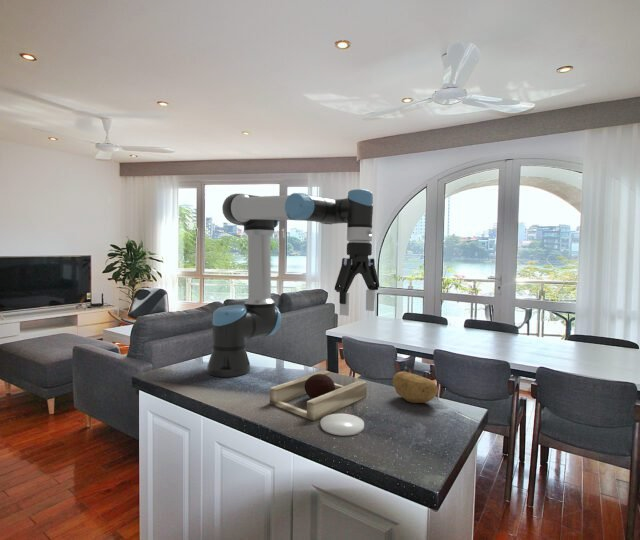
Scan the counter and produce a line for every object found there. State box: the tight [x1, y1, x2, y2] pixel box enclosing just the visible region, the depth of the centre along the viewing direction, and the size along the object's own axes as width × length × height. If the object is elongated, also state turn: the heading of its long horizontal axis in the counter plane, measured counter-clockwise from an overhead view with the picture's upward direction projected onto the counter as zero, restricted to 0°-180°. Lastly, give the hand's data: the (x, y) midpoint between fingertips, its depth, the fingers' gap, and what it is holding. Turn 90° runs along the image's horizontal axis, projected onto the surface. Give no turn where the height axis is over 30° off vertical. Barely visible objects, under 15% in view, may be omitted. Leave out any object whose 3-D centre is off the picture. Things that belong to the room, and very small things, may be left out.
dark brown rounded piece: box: [305, 374, 336, 400], centre depth 115 cm, size 8×9×8 cm
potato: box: [392, 371, 439, 404], centre depth 116 cm, size 10×14×8 cm
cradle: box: [269, 369, 368, 422], centre depth 115 cm, size 17×24×4 cm
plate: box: [320, 413, 365, 437], centre depth 98 cm, size 11×11×1 cm
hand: (357, 312), depth 117 cm, fingers open, 13 cm apart
